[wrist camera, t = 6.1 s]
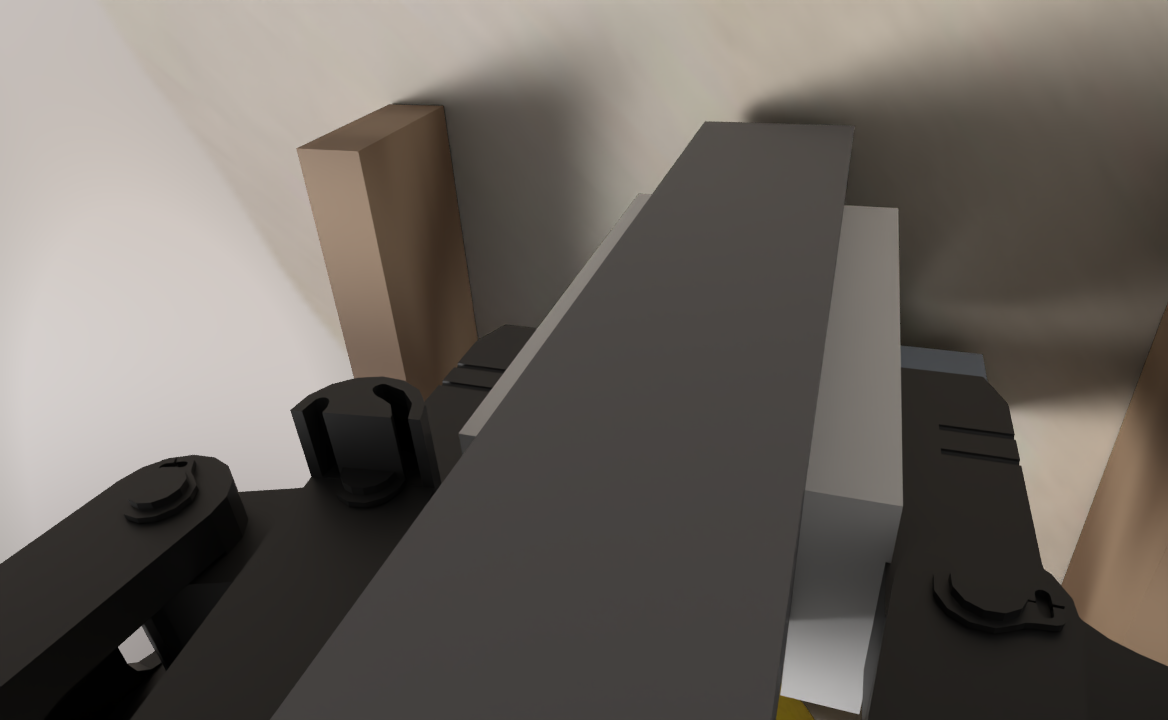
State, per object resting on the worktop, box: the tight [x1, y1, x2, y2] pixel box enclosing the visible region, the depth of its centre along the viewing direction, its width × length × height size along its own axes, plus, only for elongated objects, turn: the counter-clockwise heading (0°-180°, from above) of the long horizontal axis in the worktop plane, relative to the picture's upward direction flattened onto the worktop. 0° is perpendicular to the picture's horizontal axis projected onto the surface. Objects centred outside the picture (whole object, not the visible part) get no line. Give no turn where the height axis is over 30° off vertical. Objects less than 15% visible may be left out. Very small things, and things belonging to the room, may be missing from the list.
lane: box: [297, 104, 1168, 666], centre depth 16 cm, size 21×15×6 cm
